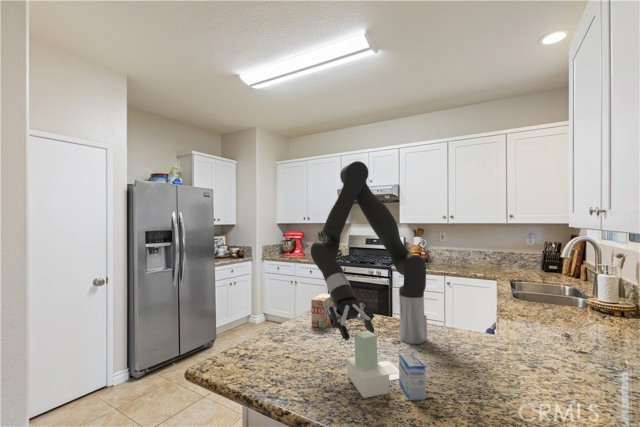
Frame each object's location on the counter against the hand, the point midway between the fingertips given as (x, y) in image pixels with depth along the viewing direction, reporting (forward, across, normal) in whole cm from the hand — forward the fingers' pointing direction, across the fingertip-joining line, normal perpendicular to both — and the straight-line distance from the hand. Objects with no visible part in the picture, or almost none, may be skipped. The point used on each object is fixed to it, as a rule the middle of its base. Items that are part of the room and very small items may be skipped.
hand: (360, 336), depth 88 cm
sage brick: (+7, 0, +3) cm, 8 cm away
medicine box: (+17, +8, 0) cm, 19 cm away
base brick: (+11, 0, +6) cm, 12 cm away
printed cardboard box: (-28, +15, +45) cm, 55 cm away
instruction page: (+9, +9, +8) cm, 15 cm away
